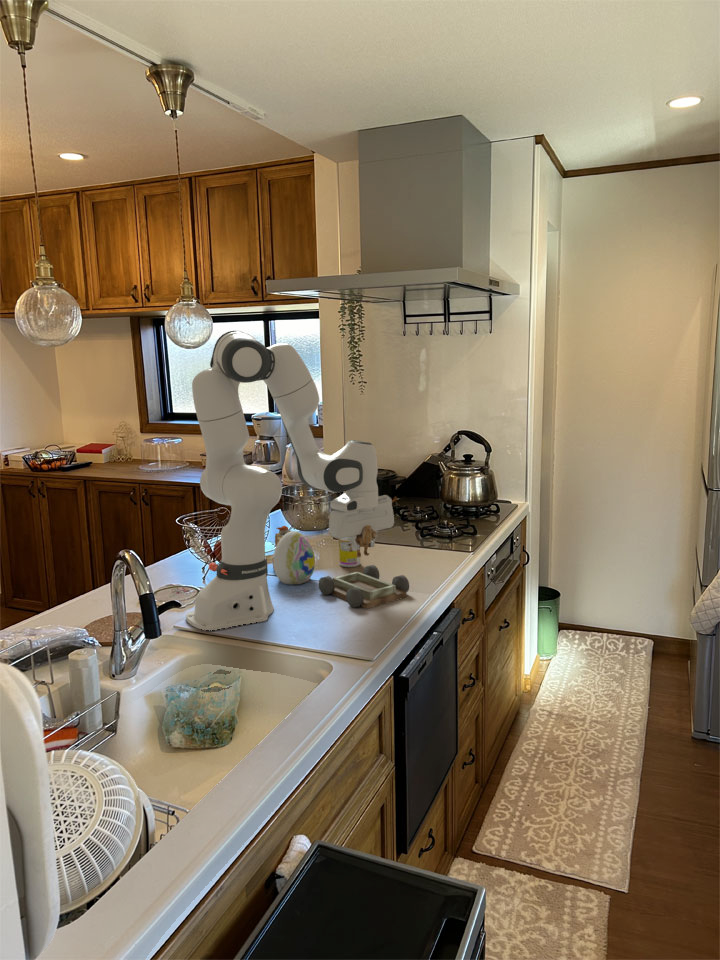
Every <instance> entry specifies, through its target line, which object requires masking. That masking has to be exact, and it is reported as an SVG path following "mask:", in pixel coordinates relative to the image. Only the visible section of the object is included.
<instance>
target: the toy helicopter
mask: <svg viewBox="0 0 720 960" xmlns="http://www.w3.org/2000/svg"><path fill="white" fill-rule="evenodd" d="M276 530H279V531H278V532H277V533H275V534H274V544H275V547H276V546H277V544H278V542H279V541H280V539H281V538H282V537H283V536H284V535H285V534H286V533H288V532H291V531H292V530H290V529H289V527H288V526H287V525H282V526H281V527H276ZM273 558H274V555H273V557H272V559H273ZM272 568H273V571H274V572H275V570H274V565H273V564H272Z"/></svg>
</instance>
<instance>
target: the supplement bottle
mask: <svg viewBox="0 0 720 960" xmlns="http://www.w3.org/2000/svg"><path fill="white" fill-rule="evenodd" d="M348 544H350V541H349V540H348V537H346V538H341V539H338V552H339V553H338V556H339V557H338V558H339V565H340V566H341V567H343V568H355V567H358V566H360V565H361V557H357V551H352V552H349V550H350V546H348Z"/></svg>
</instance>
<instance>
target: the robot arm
mask: <svg viewBox="0 0 720 960" xmlns="http://www.w3.org/2000/svg"><path fill="white" fill-rule="evenodd" d="M209 366H210V368H207V369H204V370H202V371H200V372H198V373H197V374H196V375H195V376H194V377H193V379H192V382H191V389H192V398H193V405H194V410H195V413H196V414H195V415H196V418H197V421H198V424H199V428H200V431H201V435H202V440H203V443H204V448H205V455H206V456H205V457H206V459H205V460H206V461H205V468H204V469H203V471H202V473H201V476H200V479H199V486H200V490H201V492H202V493H203V494H204V496H205V497H206V498H209V499H210V500H212V501H214V502H215V503H217V504H220V505H225V506H230V508H231V511H230V512H231V513H230V517H229V520H228V523H227V524H226V525H225V526H223V528H222V529H221V532H220V542H221V543H220V545H221V547H220V548H221V561H220V562H219V564H217V563H215V562H210V563H209V564H208V569H209V570H210V571H212V572H215V573H216V575H215V577H214V578H213V579H212V580H210V581H209V583H208V584H207V585H205V586H204V587H203V588H202V589H201V590H200V591H199V592H198V593H197V595H196V597H195V601H194V602H195V603H194V610H192V611H189V612H187V613H186V615H185V616H186V617H185V618H186V619H185V620H186V621H187V623H188V624H189V625H190V626H192V627H194V628H196V629H198V630H201V629H202V630H201V631H206V630H209V631H208V632H213V631H212V630H215V631H218V630H217V629H220V630H222V629H221V628H225V629H228V628H227V627H231V628H233V627H232V626H236V627H239V626H238V625H241V626H244V625H243V624H246V625H251V624H250V623H252V624H256V622H257V623H262V622H266V621H267V620H268V618H269V616H270V615H271V614H272V613H273V612H274V610H275V608H274V606H273V605H274V604H273V601H272V599H271V595H270V591H269V585H268V578H267V577H268V572H269V571H268V559H267V557H266V547H265V546H266V541H265V538H266V536H265V533H266V532H265V531H266V526H267V525H266V524H267V520H268V517H269V515H270V512H271V510H272V509H273V508H274V507H275V506H276V505H277V504H278V503H279V501H280V499H281V497H282V492H283V485H282V480H281V479H280V477H279V476H278V475H277V474H276V473H274V472H273V471H271V470H269V469H267V468H264V467H262V466H256V465H249V464H247V463H246V462H245V459H244V449H245V446H246V445H247V444H248V443H249V440H250V433H249V429H248V426H247V425H248V424H247V422H246V418H245V415H244V410H243V407H242V404H241V400H240V396H239V387H240V384H242V383H243V384H244V383H245V384H247V383H254V382H258V381H263V382H264V383H265V385H266V386H267V388H268V390H269V393H270V394H271V397H272V399H273V402H274V403H275V405H276V407H277V410H278V412H279V414H280V418H281V422H282V425H283V427H284V430H285V433H286V435H287V438H288V439H289V442H290V445H291V447H292V449H293V452H294V455H295V459H296V465H297V473H298V477H299V480H300V481H301V483H302V484H304V485H303V486H305V487H308V488H310V489H317V490H322V491H325V492H330V493H335V494H337V493H338V494H339V493H342V494H341V495H339V496H338V497H336V498H334V499H332V500H331V501H330V504H329V505H330V508H331V509H332V510H331V512H330V514H329V517H328V518H329V519H328V521H329V522H328V531H329V535H330V536H331V537H332V538H334V539H337V540H339V539H341V538H346V537H348V540H349V541H350V543H351V544H352V550H353V551H357V550H360V551H361V547H360V544H357V543H356V541H355V539H356V535H359V534H361V532H362V530H363V528H364V527H365V526H367V525H369V526H371V529H372V530H374V531H375V532H376V533H378V534H377V536H376V538H375V540H374V539H372V541H371V543H369V546H368V548H373V547H375V546H376V543H375V542H376V539H377V537H378V535H379V531H381V530H382V531H383V530H386V529H391V528H393V526H394V525H395V516H394V509H393V500H392V497H390V496H389V495H387V494H384V495H379V487H378V482H377V477H378V471H379V469H378V455H377V450H376V448H375V446H374V445H373V444H372V443H371V442H369V441H362V440H352V439H351V440H348V441H347V442H346V444H345V445H343V447H342V448H341V449H339V450H338V451H336V452H334V453H332V454H328V453H325V452H323V451H322V450H321V449H320V448H319V447H318V445H317V443H316V441H315V437H314V434H313V432H312V430H311V427H310V424H309V418H310V417H311V416H312V415H313V414H314V413H315V412H316V410H317V409H318V407H319V403H320V395H319V391H318V388H317V385H316V383H315V381H314V378H313V376H312V375H311V373H310V370H309V369H308V367H307V365H306V363H305V362H304V360H303V359H302V357H301V356H300V354H299V352H297V350H296V349H295V348H294V346H293V345H291V344H289V343H282V342H281V343H277V344H275V343H274V344H273V345H271V346H268V347H266V345H264V344H263V343H262V342H260V341H258V340H257V339H256V338H255V337H254V336H252V335H250V333H249V334H248V333H246V332H243V331H241V330H230V331H226V332H225V333H223V334H222V335H220V336H219V337H218V338H217V340H216V342H215V344H214V347H213V350H212V355H211V358H210V362H209ZM359 547H360V548H359ZM210 630H211V631H210Z"/></svg>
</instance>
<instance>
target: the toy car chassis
mask: <svg viewBox="0 0 720 960" xmlns="http://www.w3.org/2000/svg"><path fill="white" fill-rule="evenodd" d="M409 582H410V581H409V579H408V578H407V577H406V576H405V575H403V574H401V575H398V576H394V577H393V578H392V582H391V583H389V582H386V581H384V580H381V579H380V571H379V569H378V567H377V566H376V565H374V564H371V565H367V566H365V567H364V568H363V573H362V572H359V571H354V572H350V573H346V574H342V575H339V576H335V577H332V576H329V575H326V576H321V577H320V578H319V579H318V589H319V591H320V593H321V594H322V595H323V596H329V595H332V594H333V596H335V597H337V596H338V598H339V597H340V598H339V599H341V600H344V601H346V600H347V603H348V605H349V607H351V608H353V607H354V608H358V607H360V606H361V608H362V609H365V608H366V609H365V610H368V609H371V608H374V607H373V606H375V607H378V606H381V605H380V604H382V605H385V604H388V603H387V602H389V603H391V602H390V601H392V602H394V601H393V600H395V601H398V600H397V599H399V600H401V599H400V598H402V599H404V598H403V597H406V598H407V593H408V592H409V590H410V583H409ZM384 603H385V604H384ZM377 605H378V606H377ZM370 607H371V608H370ZM367 608H368V609H367Z"/></svg>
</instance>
